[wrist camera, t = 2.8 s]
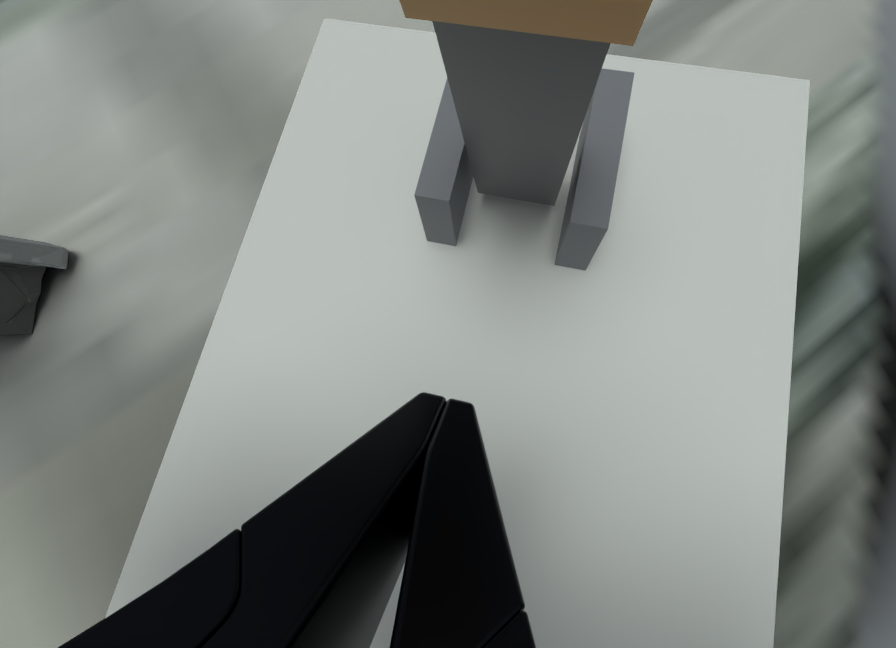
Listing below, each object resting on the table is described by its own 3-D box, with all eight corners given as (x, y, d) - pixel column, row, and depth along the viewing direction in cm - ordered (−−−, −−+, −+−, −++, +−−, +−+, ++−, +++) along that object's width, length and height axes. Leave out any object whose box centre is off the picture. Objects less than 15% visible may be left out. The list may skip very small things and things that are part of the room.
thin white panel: (705, 761, 14) (853, 968, 9) (168, 593, 17) (2, 668, 11) (762, 135, 20) (877, 2, 14) (345, 75, 22) (295, -60, 16)
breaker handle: (560, 215, 15) (676, -54, 4) (468, 199, 16) (370, -83, 5) (573, 152, 15) (722, -269, 4) (481, 138, 16) (410, -281, 5)
